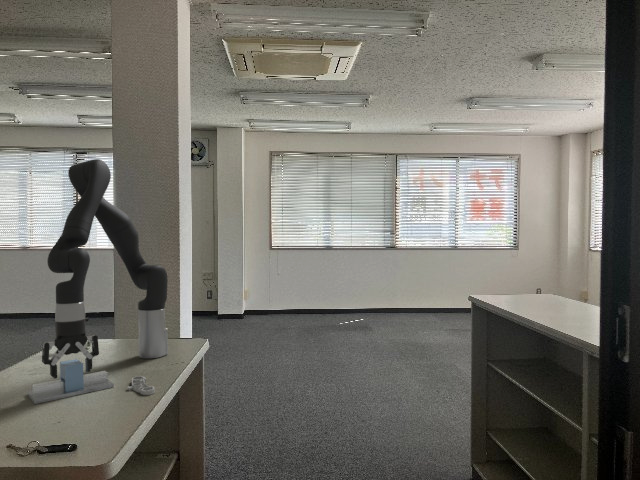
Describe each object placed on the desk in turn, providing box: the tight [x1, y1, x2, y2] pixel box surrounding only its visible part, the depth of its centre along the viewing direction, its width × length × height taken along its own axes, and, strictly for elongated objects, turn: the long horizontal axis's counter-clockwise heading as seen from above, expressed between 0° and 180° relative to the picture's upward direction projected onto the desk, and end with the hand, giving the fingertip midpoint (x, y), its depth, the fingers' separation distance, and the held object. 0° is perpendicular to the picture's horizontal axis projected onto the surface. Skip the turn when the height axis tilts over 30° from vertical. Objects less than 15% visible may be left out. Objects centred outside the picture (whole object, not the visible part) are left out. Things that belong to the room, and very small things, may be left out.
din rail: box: [27, 370, 115, 405], centre depth 133 cm, size 20×10×4 cm, turn 131°
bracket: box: [127, 375, 156, 396], centre depth 135 cm, size 8×2×15 cm
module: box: [59, 358, 84, 392], centre depth 133 cm, size 4×7×7 cm
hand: (71, 374), depth 133 cm, fingers open, 8 cm apart
